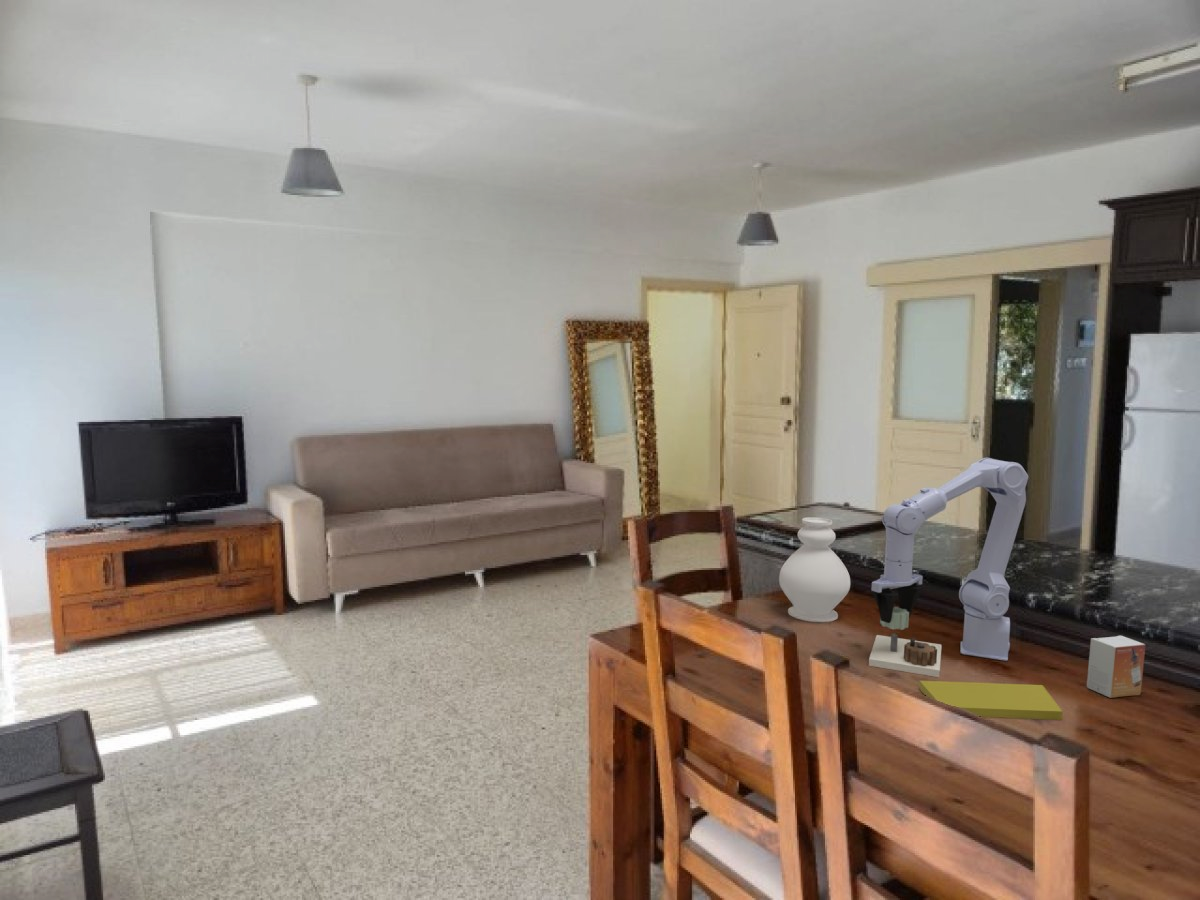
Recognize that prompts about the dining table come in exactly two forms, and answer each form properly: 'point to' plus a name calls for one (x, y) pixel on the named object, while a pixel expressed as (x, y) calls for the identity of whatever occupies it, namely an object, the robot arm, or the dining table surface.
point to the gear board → (900, 656)
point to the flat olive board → (995, 699)
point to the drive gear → (920, 653)
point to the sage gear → (897, 619)
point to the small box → (1115, 666)
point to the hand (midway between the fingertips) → (895, 619)
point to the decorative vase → (814, 574)
